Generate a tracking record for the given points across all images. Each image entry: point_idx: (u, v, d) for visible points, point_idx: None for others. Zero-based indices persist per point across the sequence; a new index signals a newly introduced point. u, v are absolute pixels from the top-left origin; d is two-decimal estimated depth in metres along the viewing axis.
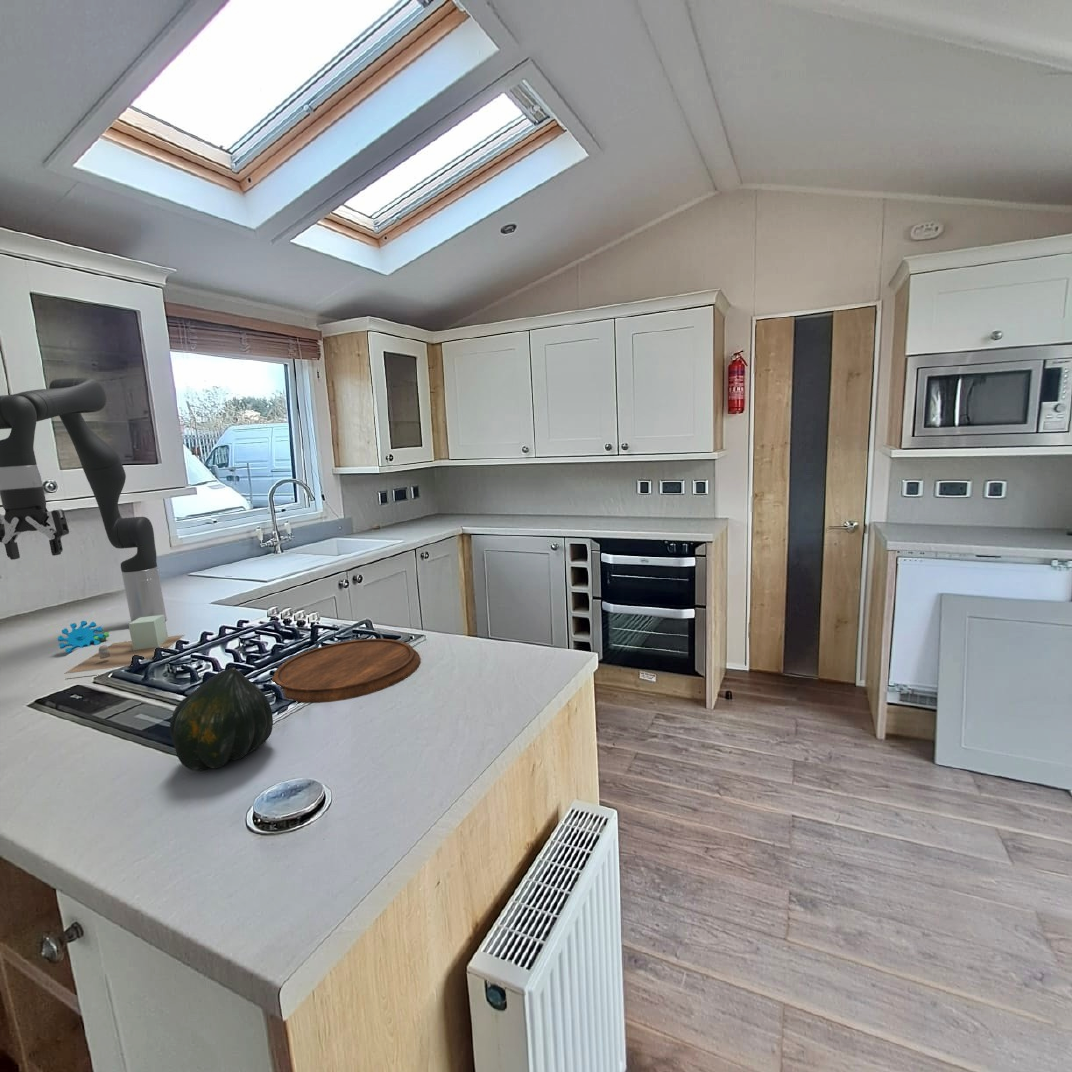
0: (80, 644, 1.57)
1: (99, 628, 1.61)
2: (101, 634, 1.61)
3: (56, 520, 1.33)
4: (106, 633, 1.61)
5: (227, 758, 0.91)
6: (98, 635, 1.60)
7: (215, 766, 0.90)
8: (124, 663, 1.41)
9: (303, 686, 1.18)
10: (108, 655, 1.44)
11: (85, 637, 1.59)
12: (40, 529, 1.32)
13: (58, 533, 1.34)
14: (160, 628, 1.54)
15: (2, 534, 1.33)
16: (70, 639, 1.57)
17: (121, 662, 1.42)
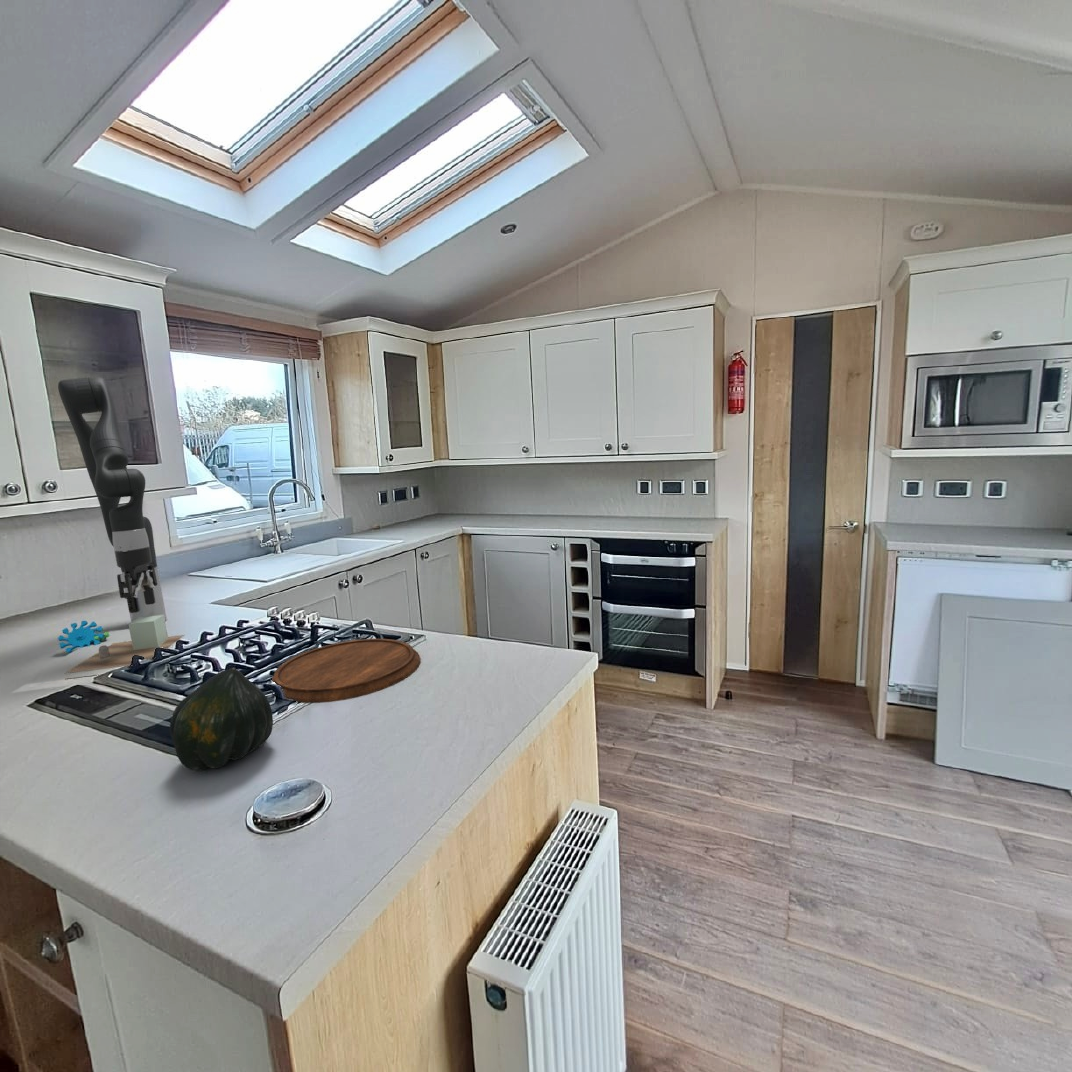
0: (80, 644, 1.57)
1: (99, 628, 1.62)
2: (101, 634, 1.61)
3: (154, 572, 1.58)
4: (106, 633, 1.61)
5: (227, 758, 0.91)
6: (98, 635, 1.60)
7: (215, 766, 0.90)
8: (124, 663, 1.41)
9: (303, 686, 1.18)
10: (108, 655, 1.44)
11: (85, 637, 1.59)
12: (151, 581, 1.55)
13: (155, 583, 1.58)
14: (160, 628, 1.54)
15: (123, 592, 1.46)
16: (70, 639, 1.57)
17: (121, 662, 1.42)
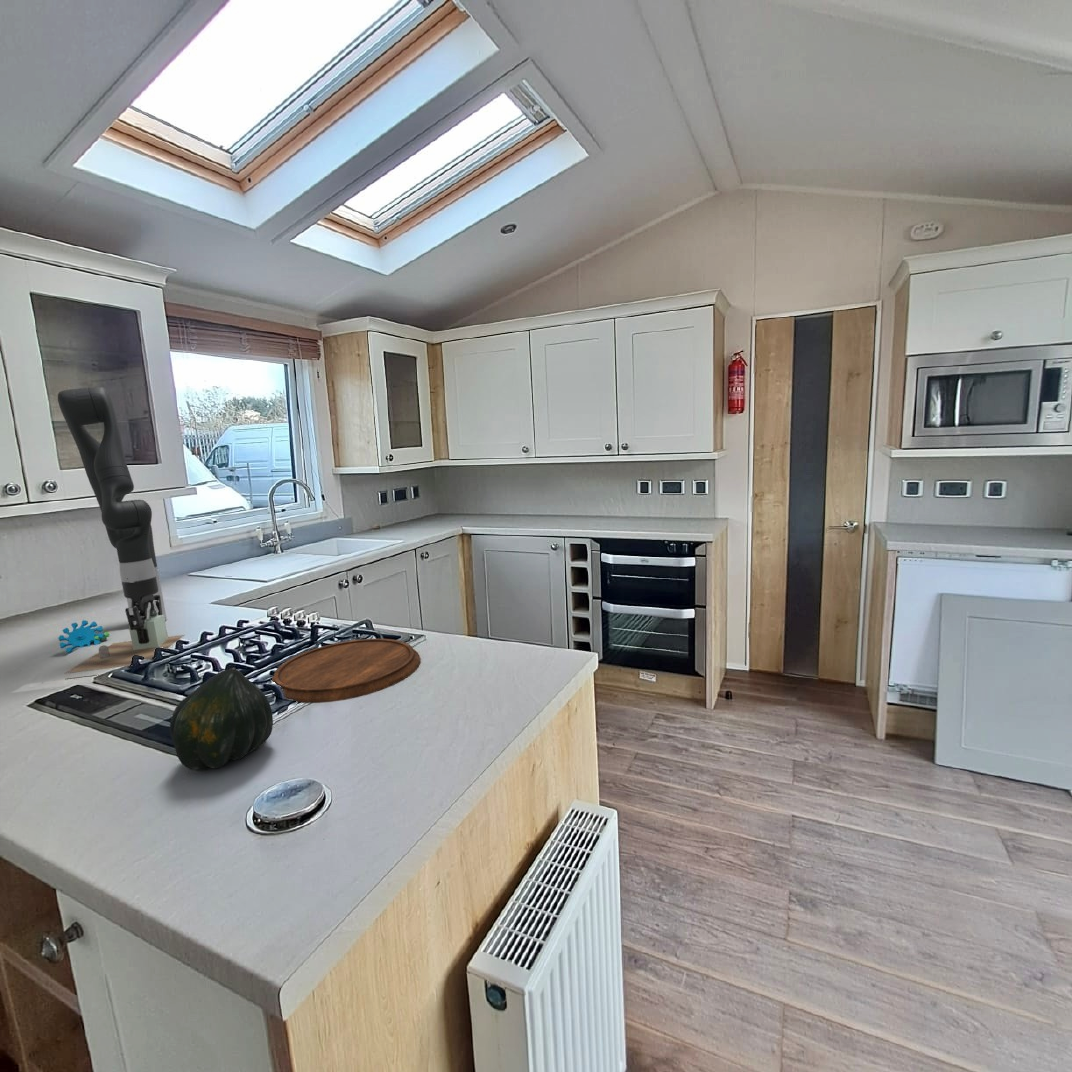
0: (80, 644, 1.57)
1: (100, 628, 1.62)
2: (101, 634, 1.61)
3: (160, 603, 1.59)
4: (106, 633, 1.61)
5: (227, 758, 0.91)
6: (98, 635, 1.60)
7: (215, 766, 0.90)
8: (124, 663, 1.41)
9: (303, 686, 1.18)
10: (108, 655, 1.44)
11: (85, 637, 1.59)
12: (157, 611, 1.56)
13: (160, 614, 1.59)
14: (160, 628, 1.54)
15: (133, 624, 1.49)
16: (70, 639, 1.57)
17: (121, 662, 1.42)
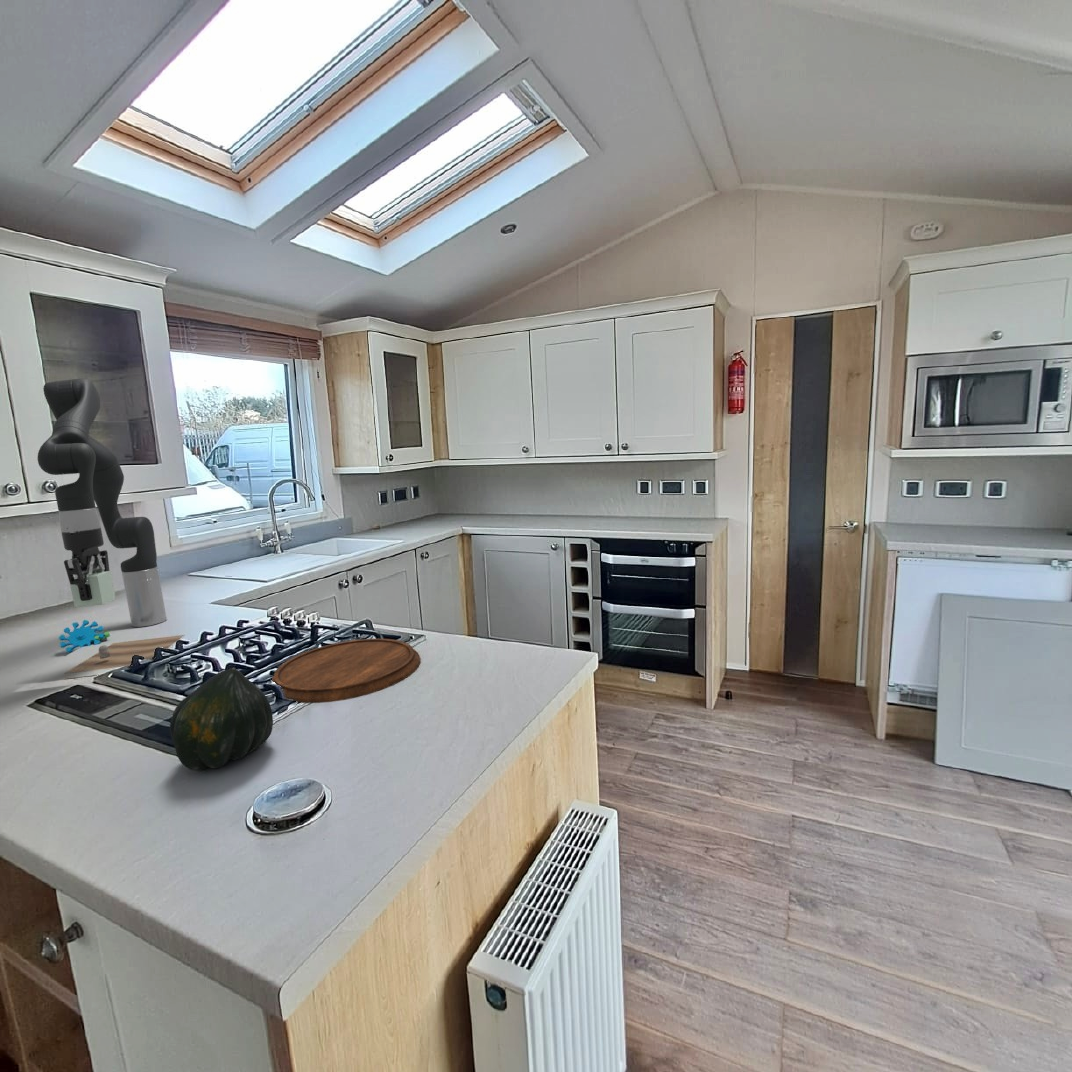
0: (80, 643, 1.58)
1: (100, 628, 1.62)
2: (102, 634, 1.61)
3: (106, 559, 1.46)
4: (107, 633, 1.61)
5: (227, 758, 0.91)
6: (99, 635, 1.60)
7: (215, 766, 0.90)
8: (124, 663, 1.41)
9: (303, 686, 1.18)
10: (108, 655, 1.44)
11: (86, 637, 1.59)
12: (102, 567, 1.43)
13: None
14: (105, 585, 1.42)
15: (73, 578, 1.36)
16: (71, 639, 1.58)
17: (121, 662, 1.42)
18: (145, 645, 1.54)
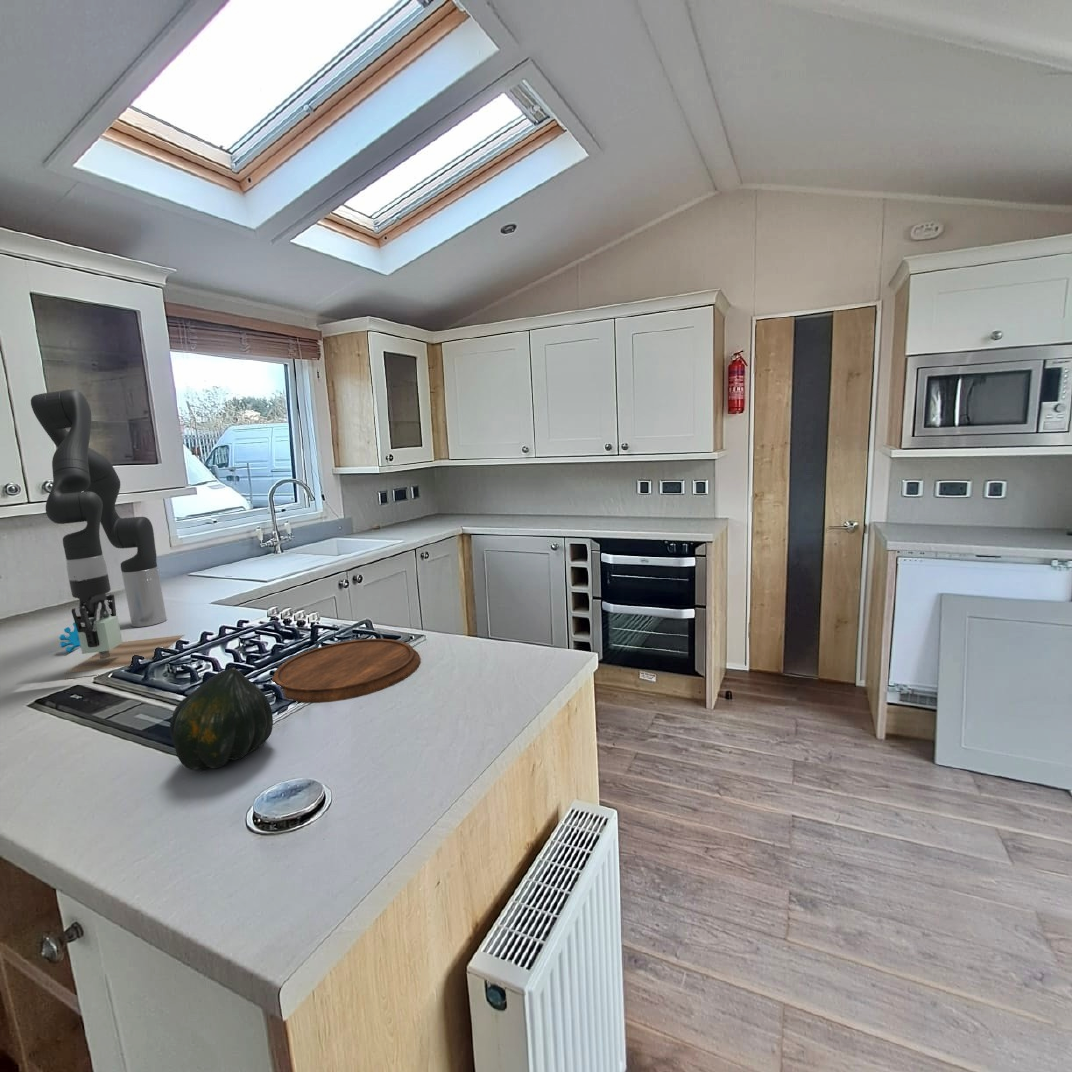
0: None
1: None
2: None
3: (113, 603, 1.48)
4: None
5: (227, 758, 0.91)
6: None
7: (215, 766, 0.90)
8: (124, 663, 1.41)
9: (303, 686, 1.18)
10: (108, 655, 1.44)
11: None
12: (109, 612, 1.45)
13: (114, 615, 1.48)
14: (112, 630, 1.43)
15: (81, 626, 1.37)
16: (71, 638, 1.58)
17: (121, 662, 1.42)
18: (145, 645, 1.54)
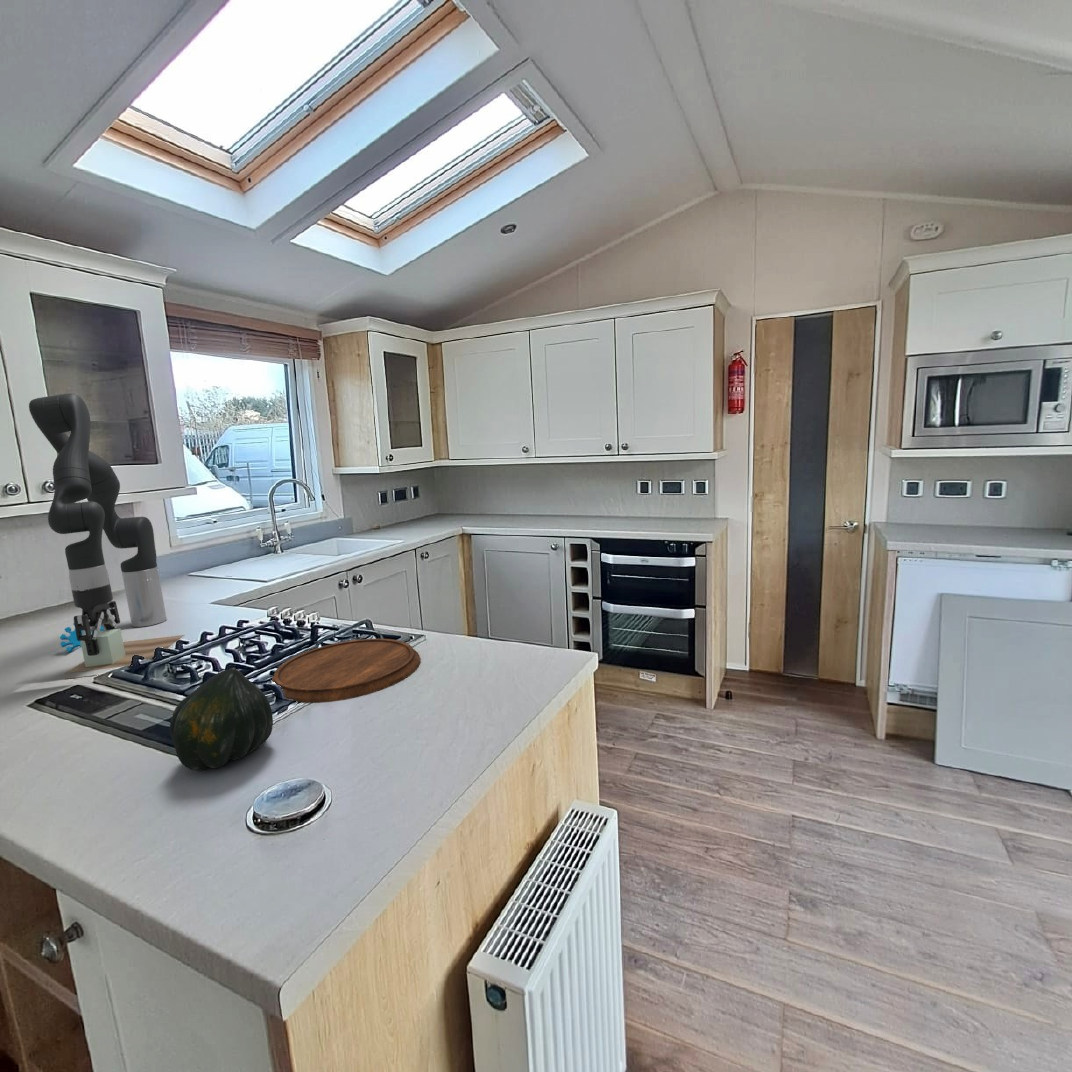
0: None
1: (101, 627, 1.62)
2: None
3: (116, 610, 1.49)
4: None
5: (227, 758, 0.91)
6: None
7: (215, 766, 0.90)
8: (124, 663, 1.41)
9: (303, 686, 1.18)
10: None
11: None
12: (112, 619, 1.46)
13: (118, 621, 1.49)
14: (115, 643, 1.44)
15: (81, 634, 1.37)
16: (71, 638, 1.58)
17: (121, 662, 1.42)
18: (145, 645, 1.54)
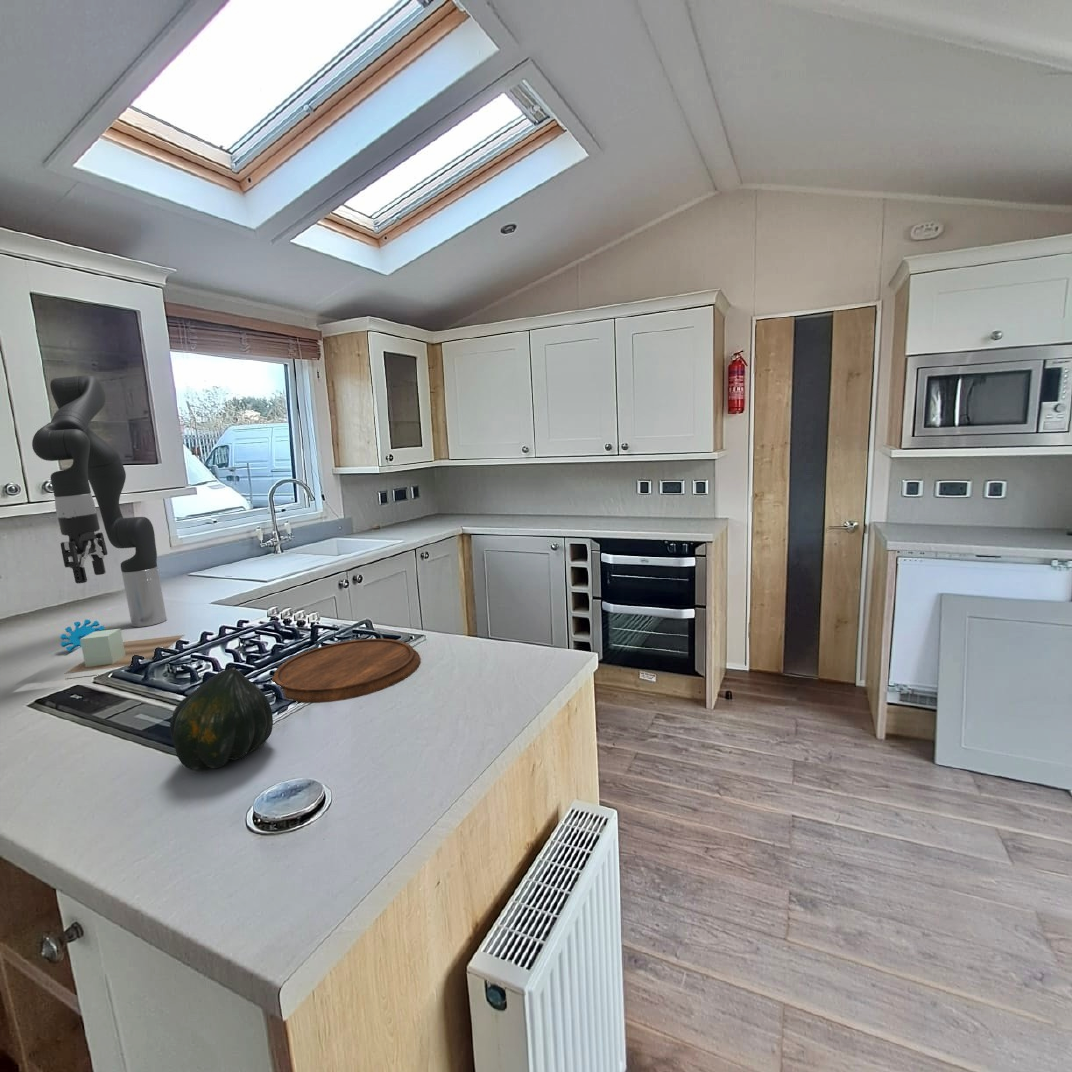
0: None
1: (101, 627, 1.62)
2: None
3: (103, 541, 1.49)
4: None
5: (227, 758, 0.91)
6: None
7: (215, 766, 0.90)
8: (124, 663, 1.41)
9: (303, 686, 1.18)
10: None
11: None
12: (100, 550, 1.46)
13: (105, 553, 1.50)
14: (115, 643, 1.44)
15: (68, 561, 1.37)
16: (72, 638, 1.58)
17: (121, 662, 1.42)
18: (145, 645, 1.54)
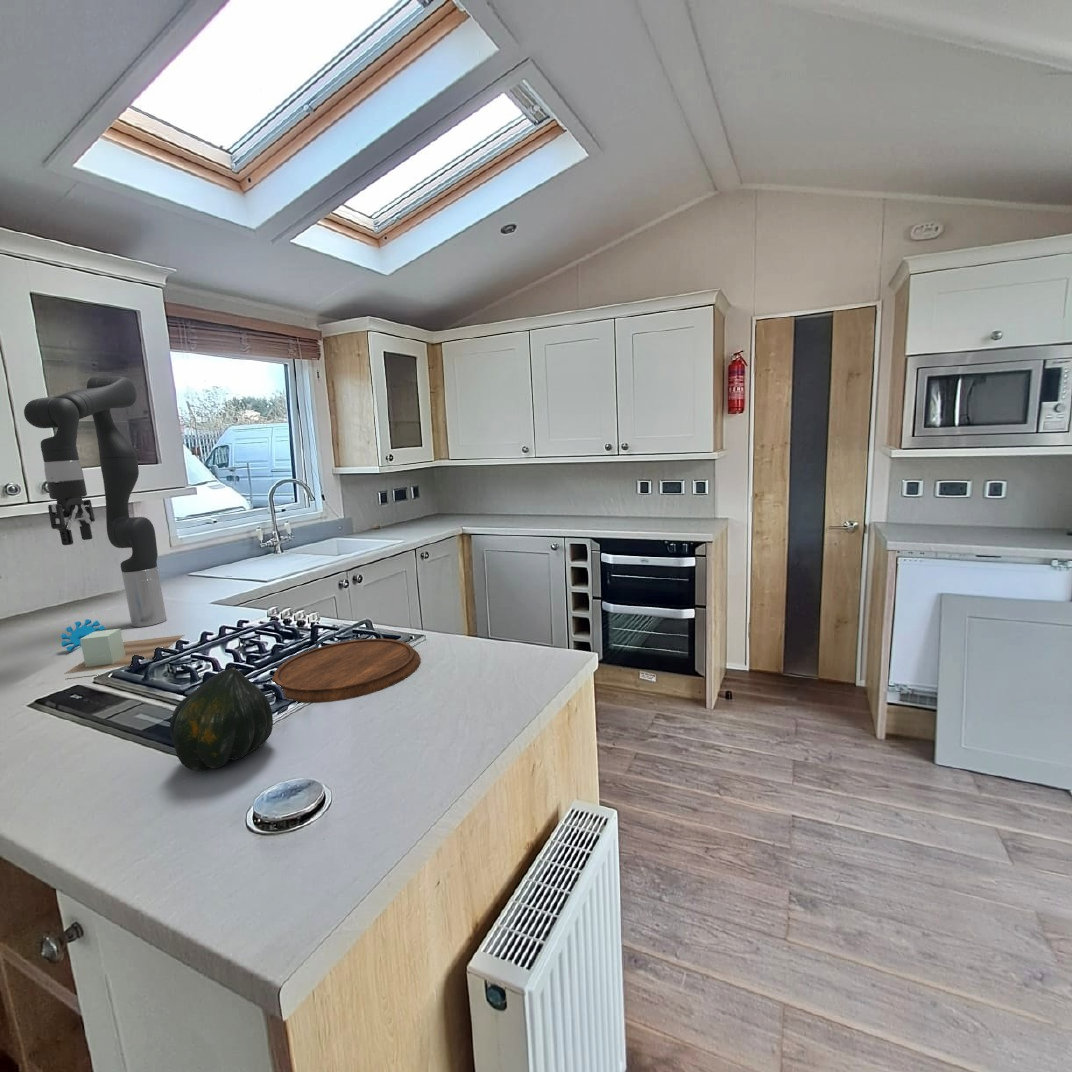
0: None
1: (101, 627, 1.62)
2: None
3: (91, 508, 1.56)
4: None
5: (227, 758, 0.91)
6: None
7: (215, 766, 0.90)
8: (124, 663, 1.41)
9: (303, 686, 1.18)
10: None
11: None
12: (87, 515, 1.53)
13: (93, 519, 1.56)
14: (115, 643, 1.44)
15: (55, 523, 1.44)
16: (72, 638, 1.59)
17: (121, 662, 1.42)
18: (145, 645, 1.54)
